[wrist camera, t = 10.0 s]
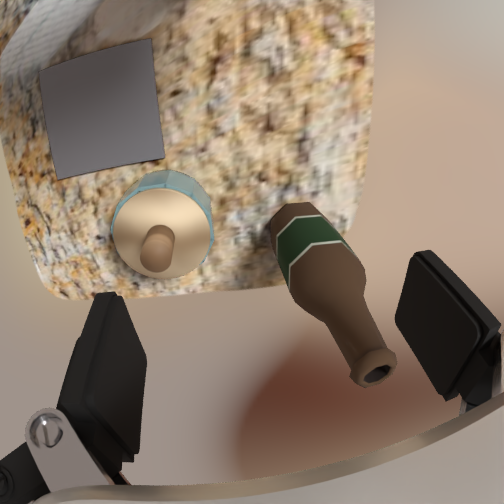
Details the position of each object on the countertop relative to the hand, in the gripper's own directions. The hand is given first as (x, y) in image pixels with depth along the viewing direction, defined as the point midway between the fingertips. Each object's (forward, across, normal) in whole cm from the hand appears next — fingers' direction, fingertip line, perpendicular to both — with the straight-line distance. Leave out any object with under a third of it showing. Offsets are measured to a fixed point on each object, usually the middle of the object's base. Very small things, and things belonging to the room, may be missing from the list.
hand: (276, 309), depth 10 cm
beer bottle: (+28, -8, +12) cm, 32 cm away
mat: (+28, +14, -6) cm, 32 cm away
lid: (+23, +8, +8) cm, 25 cm away
